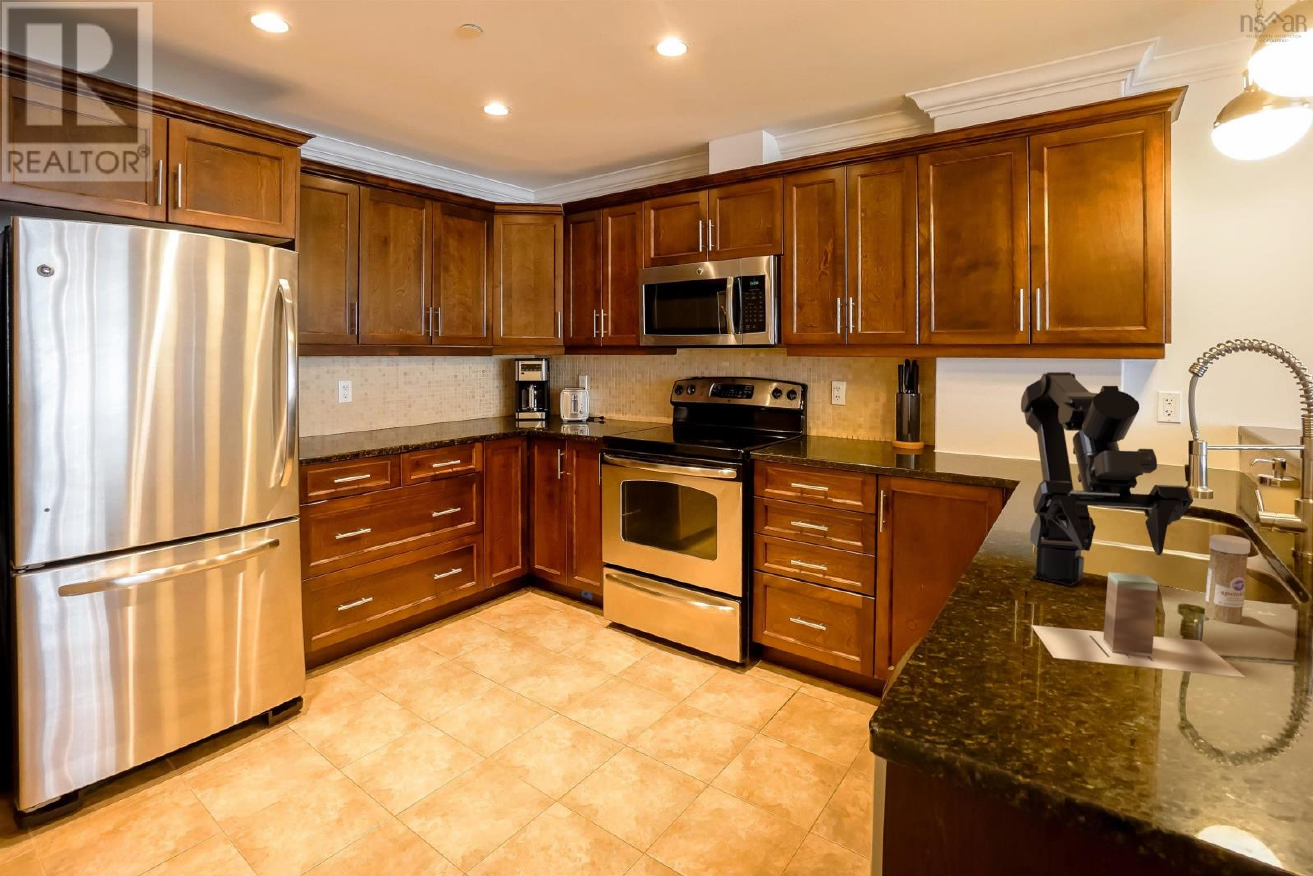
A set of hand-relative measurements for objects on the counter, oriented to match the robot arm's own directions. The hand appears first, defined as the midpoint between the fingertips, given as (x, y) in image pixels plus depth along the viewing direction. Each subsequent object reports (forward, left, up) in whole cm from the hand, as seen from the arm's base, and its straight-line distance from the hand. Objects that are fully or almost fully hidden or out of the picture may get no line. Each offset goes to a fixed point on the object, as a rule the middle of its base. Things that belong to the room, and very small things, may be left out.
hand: (1120, 551), depth 92 cm
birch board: (+3, -3, -13) cm, 14 cm away
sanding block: (+2, -4, -12) cm, 13 cm away
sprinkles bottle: (+8, +20, -14) cm, 26 cm away
